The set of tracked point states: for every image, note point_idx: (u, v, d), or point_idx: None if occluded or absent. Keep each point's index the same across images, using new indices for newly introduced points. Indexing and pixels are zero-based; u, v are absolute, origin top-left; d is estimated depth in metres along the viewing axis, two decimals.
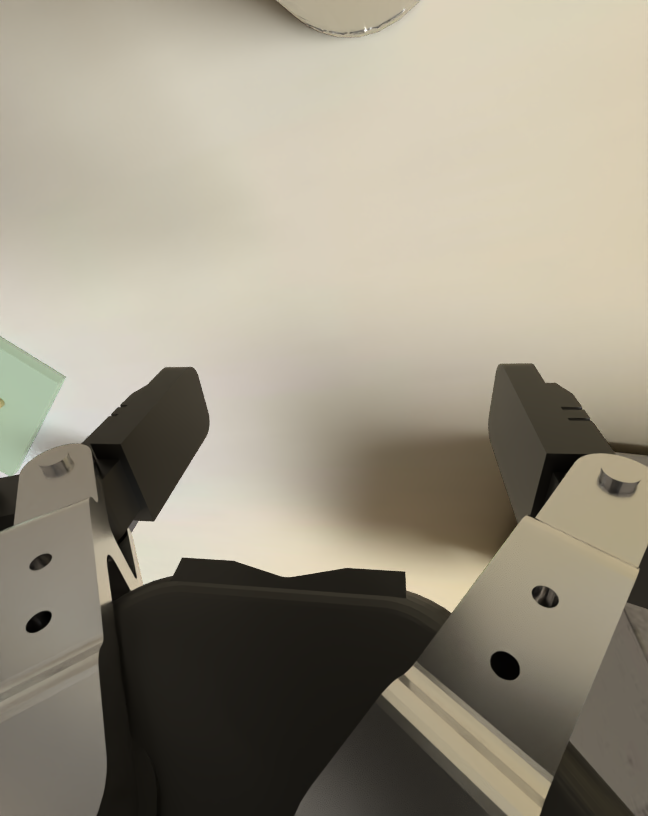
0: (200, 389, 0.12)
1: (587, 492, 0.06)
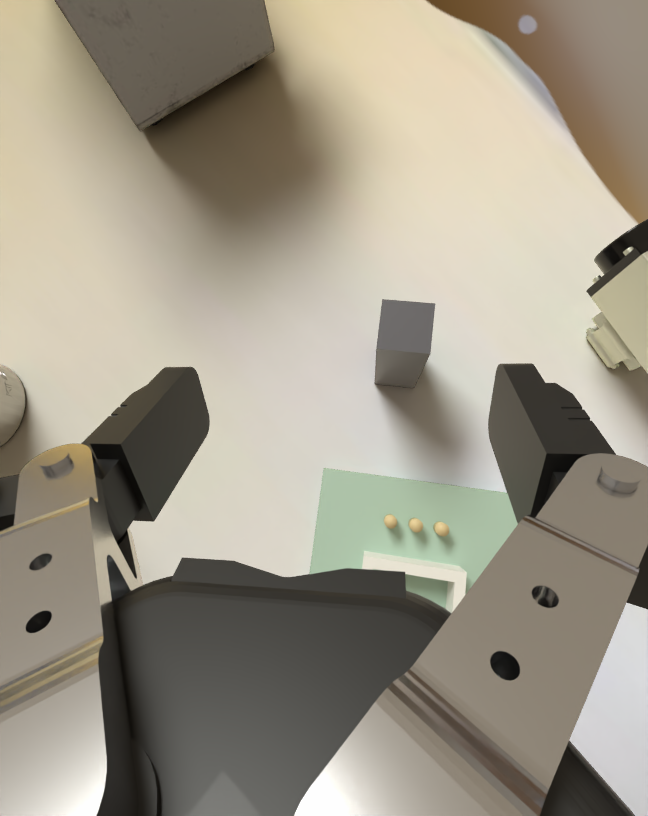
0: (200, 389, 0.12)
1: (587, 492, 0.06)
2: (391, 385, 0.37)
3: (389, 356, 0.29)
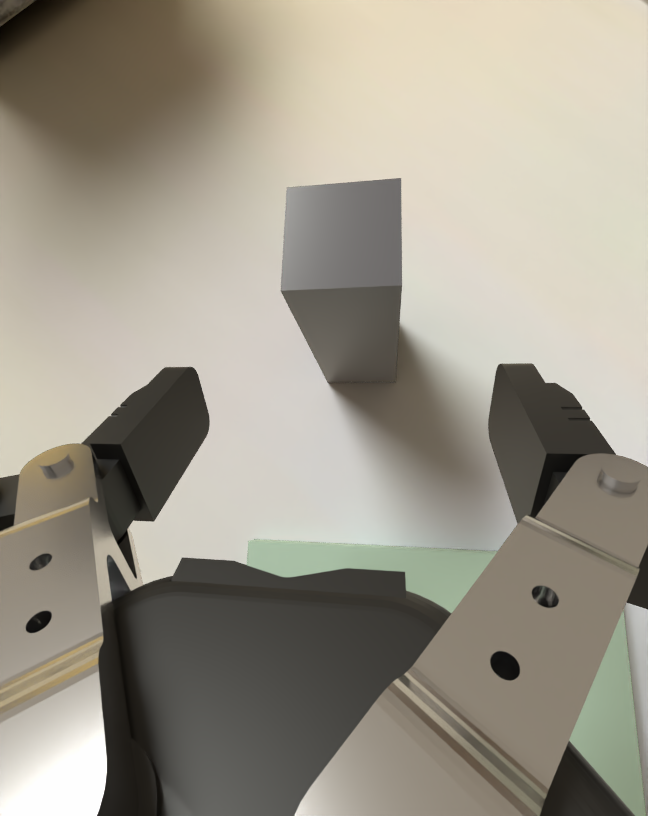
0: (200, 389, 0.12)
1: (587, 492, 0.06)
2: (356, 382, 0.21)
3: (319, 310, 0.13)
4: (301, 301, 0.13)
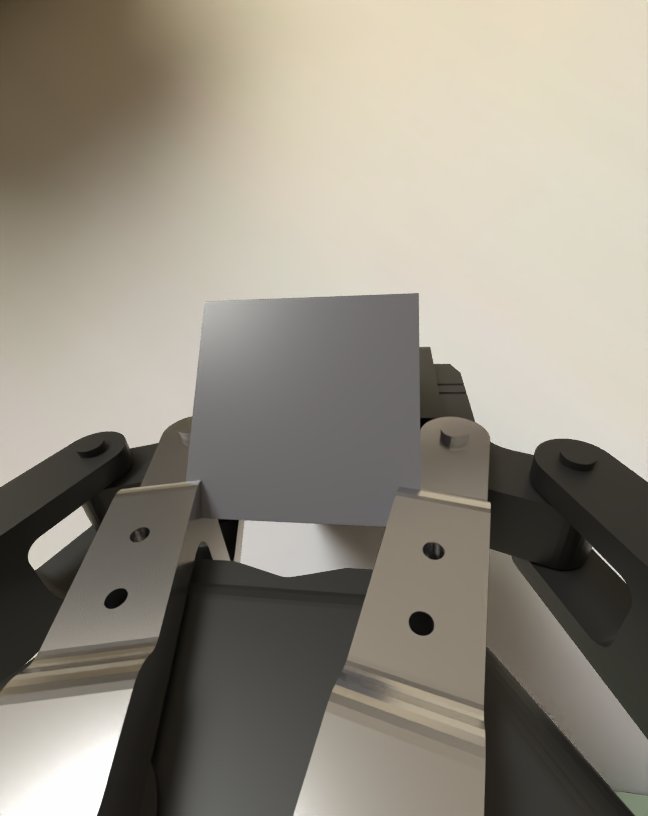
0: None
1: (436, 453, 0.07)
2: None
3: None
4: None
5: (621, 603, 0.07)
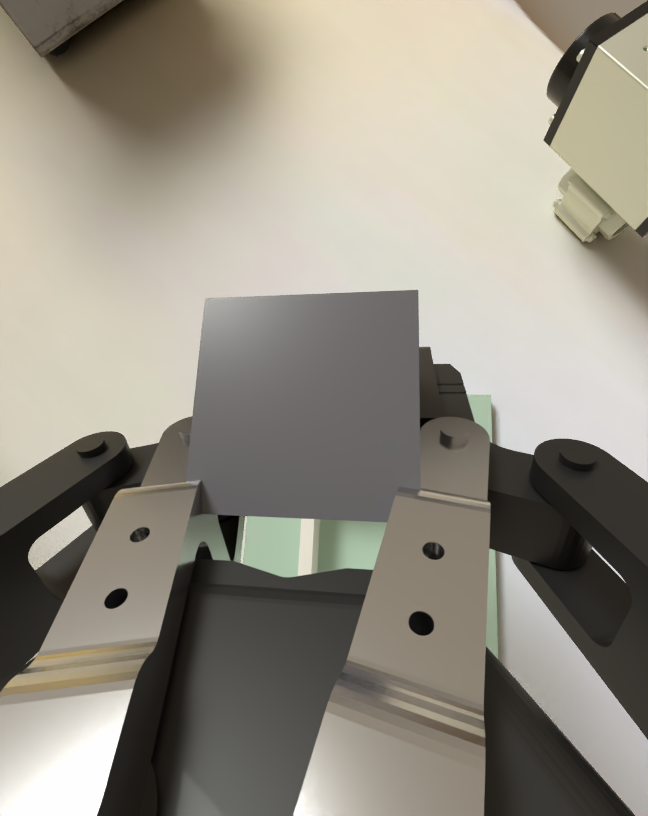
0: None
1: (436, 453, 0.07)
2: None
3: None
4: None
5: (621, 603, 0.07)
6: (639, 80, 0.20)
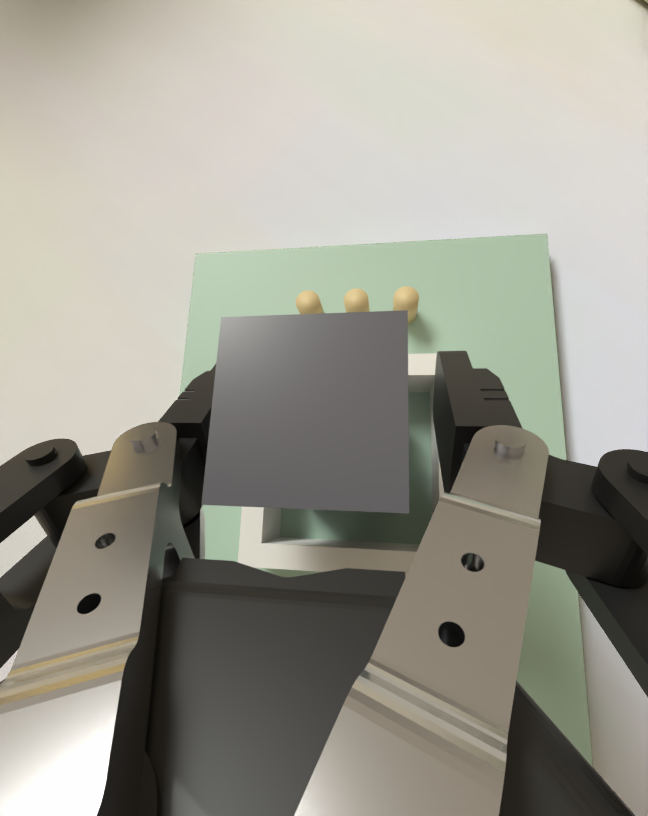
0: None
1: (487, 462, 0.07)
2: None
3: None
4: None
5: None
6: None
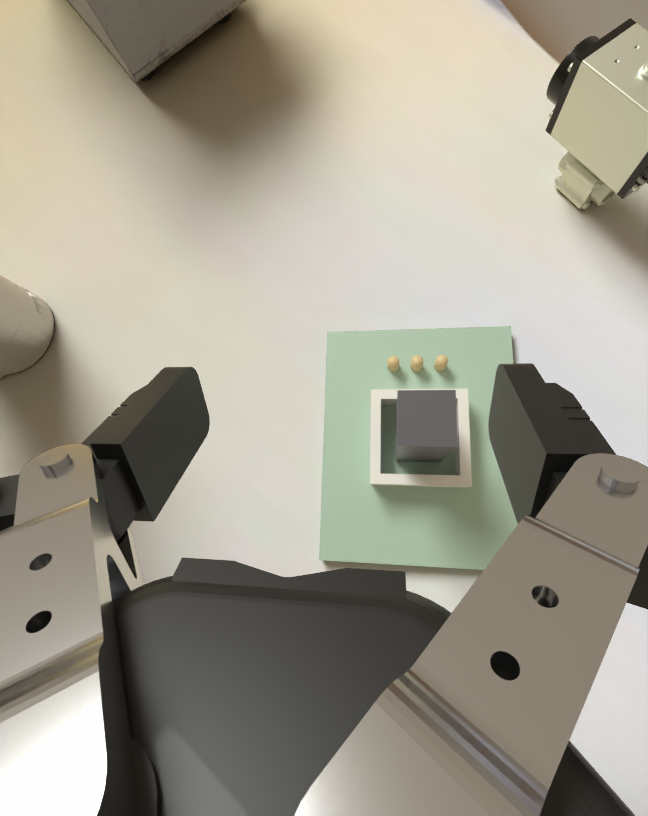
0: (200, 389, 0.12)
1: (587, 492, 0.06)
2: (414, 461, 0.34)
3: (412, 449, 0.26)
4: (405, 447, 0.26)
5: None
6: (612, 83, 0.28)
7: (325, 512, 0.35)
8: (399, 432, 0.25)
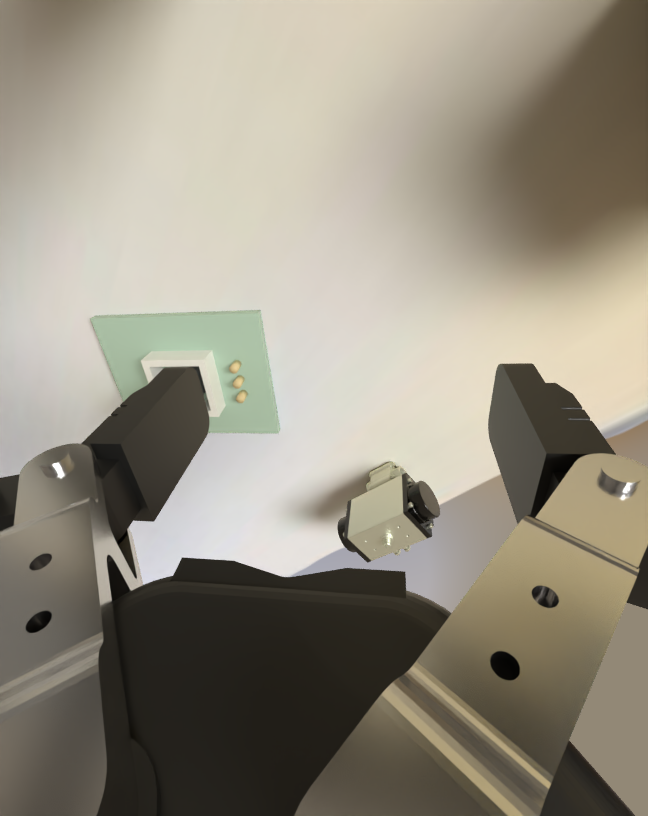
0: (200, 389, 0.12)
1: (587, 492, 0.06)
2: None
3: None
4: None
5: None
6: (381, 523, 0.46)
7: (121, 320, 0.47)
8: None
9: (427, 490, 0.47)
